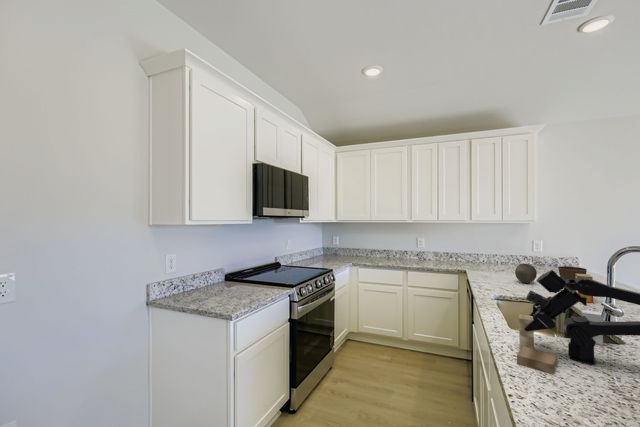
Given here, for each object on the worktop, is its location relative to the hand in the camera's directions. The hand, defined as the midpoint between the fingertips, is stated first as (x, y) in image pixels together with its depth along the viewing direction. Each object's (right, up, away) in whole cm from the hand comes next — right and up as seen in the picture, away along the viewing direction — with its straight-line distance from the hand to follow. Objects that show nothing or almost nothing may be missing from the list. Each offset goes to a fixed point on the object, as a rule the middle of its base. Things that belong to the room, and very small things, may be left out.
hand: (525, 326), depth 114 cm
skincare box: (+31, -8, +5) cm, 32 cm away
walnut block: (-5, -9, -12) cm, 16 cm away
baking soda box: (+80, -9, +63) cm, 102 cm away
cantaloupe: (+79, -10, +112) cm, 137 cm away
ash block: (0, -8, 0) cm, 8 cm away
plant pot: (+93, -9, +86) cm, 126 cm away
